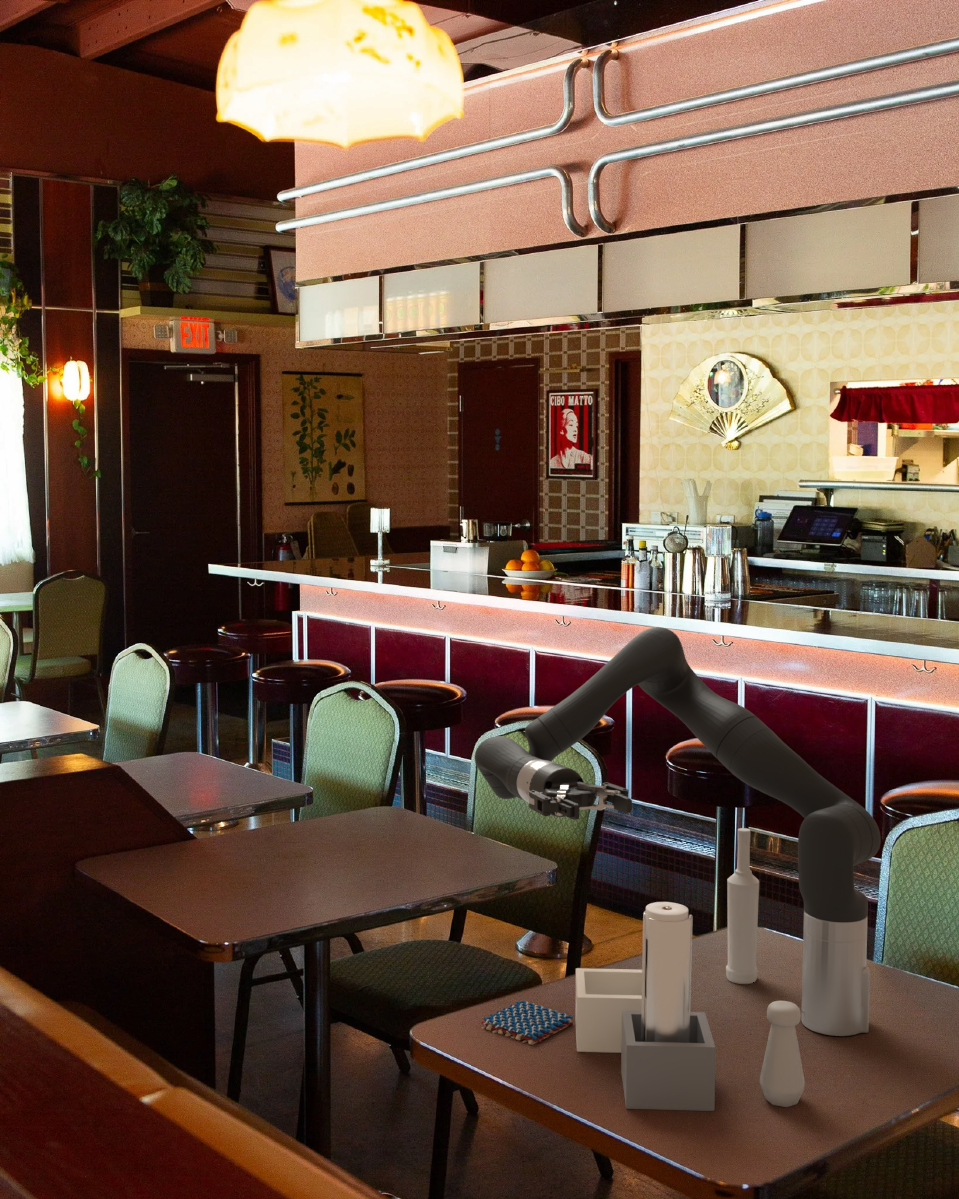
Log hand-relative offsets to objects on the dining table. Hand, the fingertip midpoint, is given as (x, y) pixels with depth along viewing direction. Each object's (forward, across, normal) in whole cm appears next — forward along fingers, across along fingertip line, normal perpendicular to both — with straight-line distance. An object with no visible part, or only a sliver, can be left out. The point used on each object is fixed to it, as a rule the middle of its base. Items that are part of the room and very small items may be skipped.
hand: (603, 809), depth 185 cm
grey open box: (+15, +1, +35) cm, 38 cm away
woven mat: (-11, -6, +36) cm, 38 cm away
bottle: (-13, +34, +35) cm, 51 cm away
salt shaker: (+24, +13, +35) cm, 45 cm away
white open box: (-2, +4, +35) cm, 35 cm away
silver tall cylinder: (+15, +1, +35) cm, 38 cm away
